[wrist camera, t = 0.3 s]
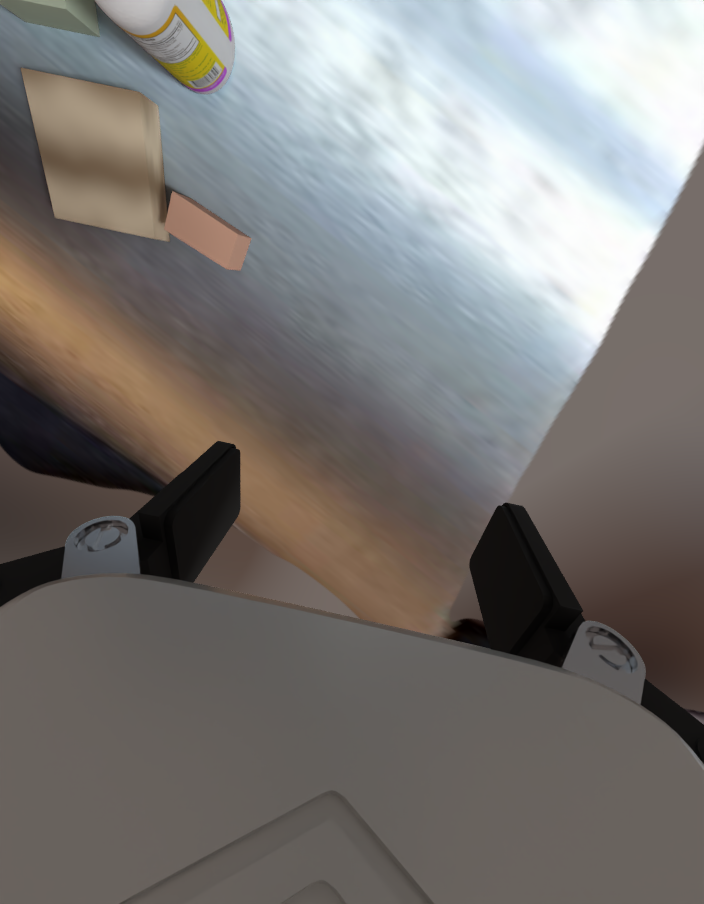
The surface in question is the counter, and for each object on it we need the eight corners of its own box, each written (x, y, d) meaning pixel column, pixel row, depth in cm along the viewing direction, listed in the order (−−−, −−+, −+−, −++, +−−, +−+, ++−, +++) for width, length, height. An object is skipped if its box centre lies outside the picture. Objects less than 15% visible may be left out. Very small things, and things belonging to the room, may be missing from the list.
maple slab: (47, 83, 30) (20, 67, 28) (158, 105, 30) (139, 92, 28) (75, 221, 36) (55, 217, 33) (169, 241, 35) (154, 239, 33)
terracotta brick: (184, 233, 35) (164, 229, 32) (192, 199, 33) (172, 190, 30) (241, 270, 36) (226, 269, 33) (252, 238, 34) (238, 234, 31)
